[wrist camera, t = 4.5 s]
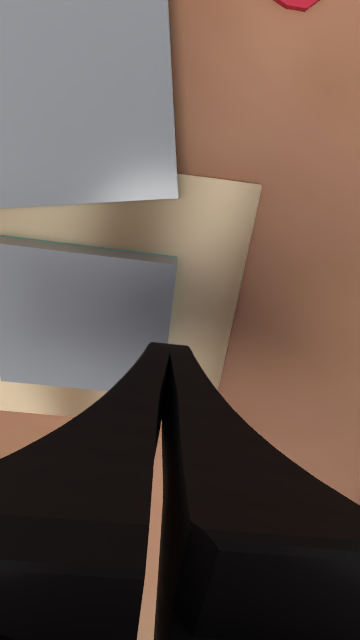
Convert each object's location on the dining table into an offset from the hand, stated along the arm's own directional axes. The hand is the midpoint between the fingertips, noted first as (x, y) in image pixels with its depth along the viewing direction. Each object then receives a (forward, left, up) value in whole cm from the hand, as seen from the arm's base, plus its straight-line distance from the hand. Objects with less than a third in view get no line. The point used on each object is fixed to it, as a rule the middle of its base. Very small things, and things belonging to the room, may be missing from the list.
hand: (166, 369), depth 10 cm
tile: (0, 0, -3) cm, 3 cm away
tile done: (+4, -7, -4) cm, 9 cm away
